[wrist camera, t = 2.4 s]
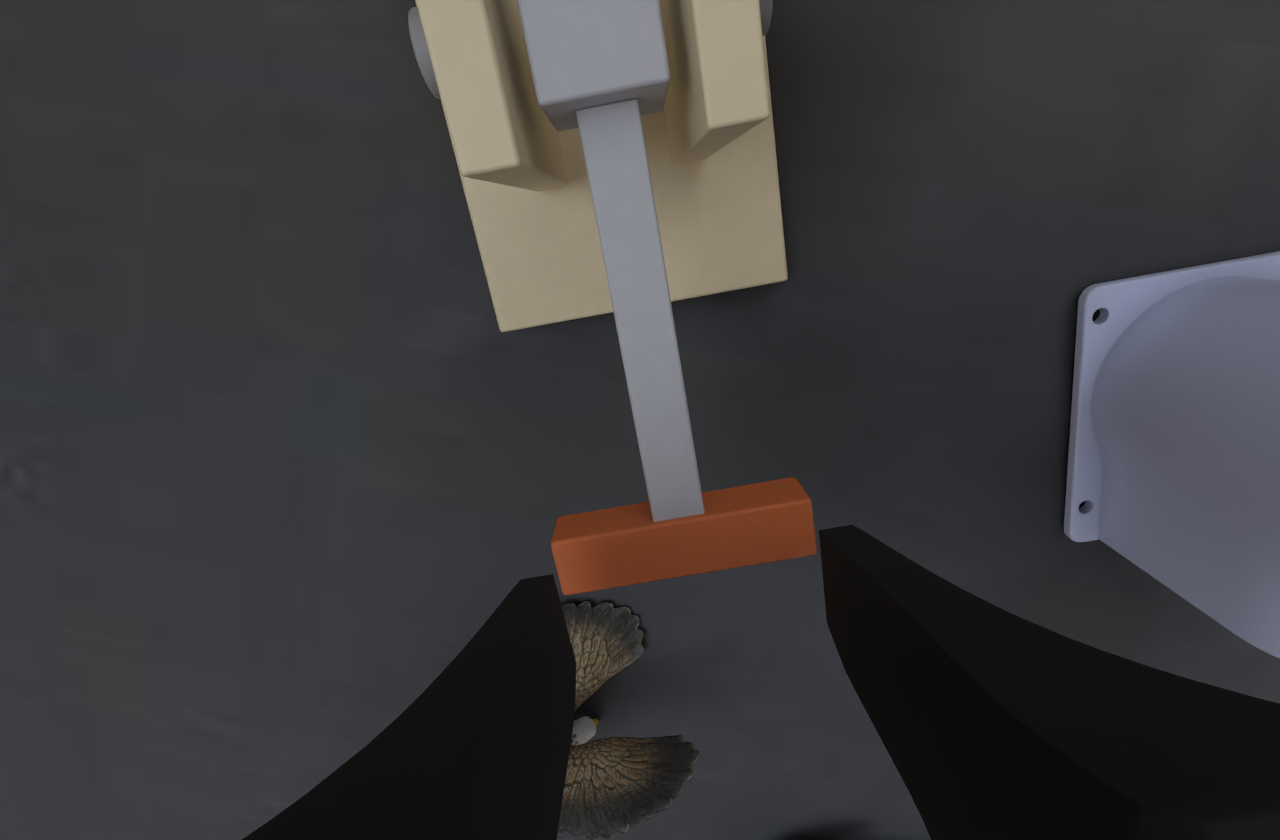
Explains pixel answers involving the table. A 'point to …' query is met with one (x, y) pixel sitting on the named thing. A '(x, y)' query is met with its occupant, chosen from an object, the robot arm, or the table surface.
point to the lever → (643, 315)
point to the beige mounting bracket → (556, 171)
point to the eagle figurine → (617, 766)
